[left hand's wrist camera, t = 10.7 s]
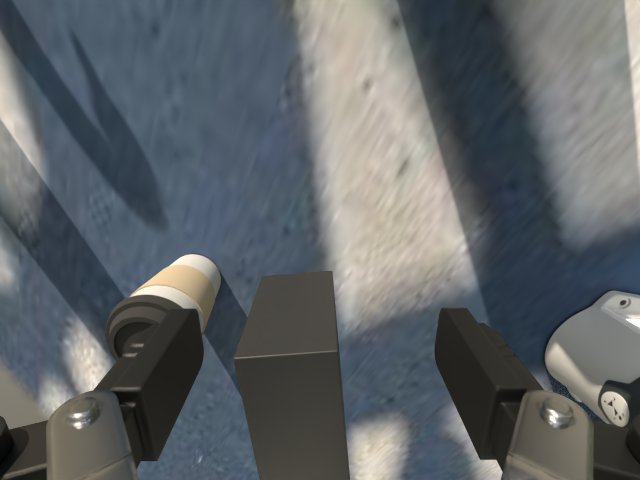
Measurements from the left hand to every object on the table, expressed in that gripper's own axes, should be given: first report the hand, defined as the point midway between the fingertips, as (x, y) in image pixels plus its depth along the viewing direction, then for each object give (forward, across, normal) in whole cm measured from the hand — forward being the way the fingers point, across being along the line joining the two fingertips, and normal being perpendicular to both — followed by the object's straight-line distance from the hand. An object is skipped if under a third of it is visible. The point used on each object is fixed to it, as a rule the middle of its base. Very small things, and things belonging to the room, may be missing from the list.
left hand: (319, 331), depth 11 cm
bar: (+13, 0, -18) cm, 22 cm away
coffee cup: (+32, -17, -14) cm, 39 cm away
